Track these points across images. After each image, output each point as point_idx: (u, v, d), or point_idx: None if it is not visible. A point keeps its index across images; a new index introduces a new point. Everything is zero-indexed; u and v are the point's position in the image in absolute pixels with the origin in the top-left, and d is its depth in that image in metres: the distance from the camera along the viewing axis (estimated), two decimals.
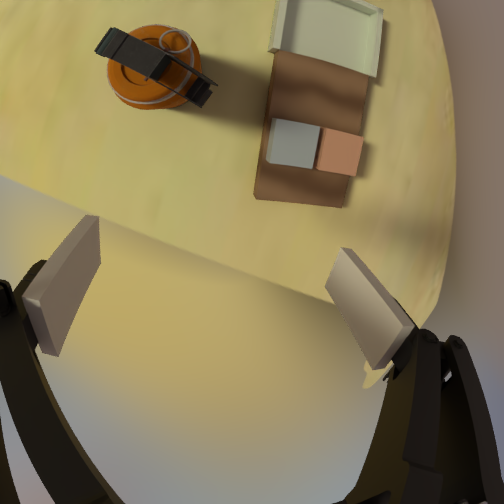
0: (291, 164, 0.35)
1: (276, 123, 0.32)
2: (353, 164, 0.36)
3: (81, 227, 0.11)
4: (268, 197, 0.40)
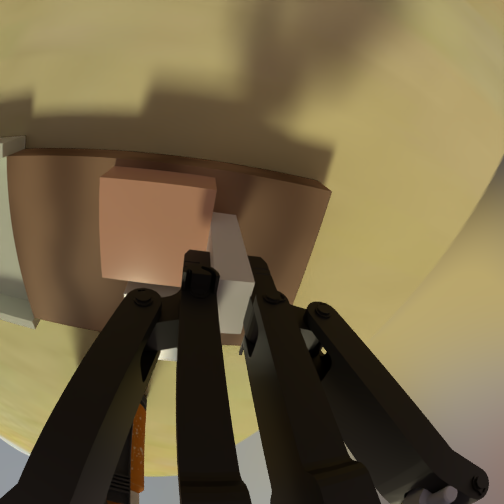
0: None
1: None
2: (180, 199, 0.13)
3: (217, 222, 0.14)
4: None
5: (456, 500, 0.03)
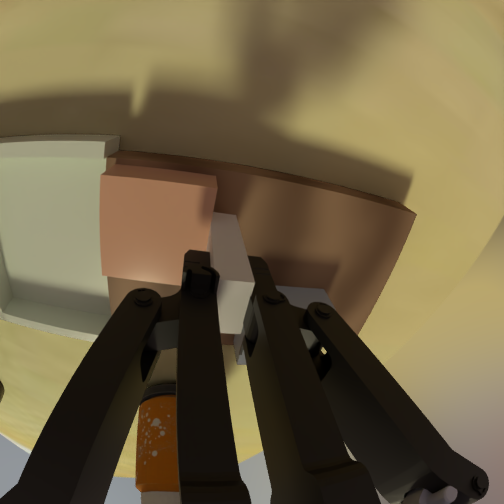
0: None
1: (245, 363, 0.20)
2: (180, 197, 0.13)
3: (217, 222, 0.14)
4: (356, 331, 0.24)
5: (456, 500, 0.03)
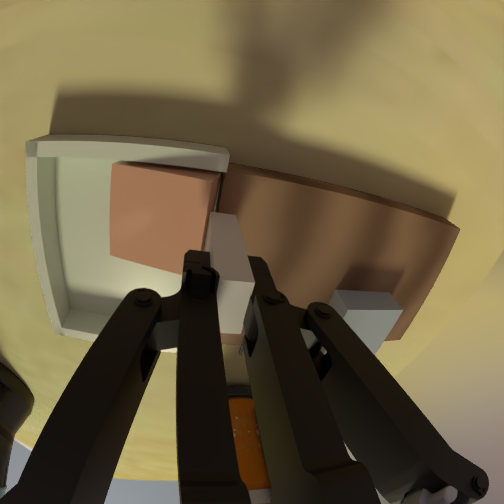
0: (385, 335, 0.22)
1: None
2: (178, 188, 0.14)
3: (217, 222, 0.14)
4: (405, 328, 0.26)
5: (456, 500, 0.03)
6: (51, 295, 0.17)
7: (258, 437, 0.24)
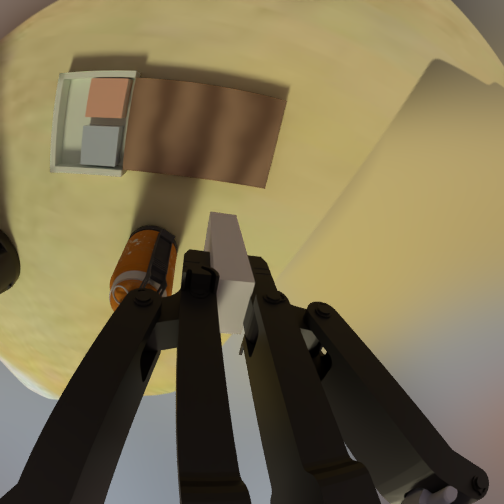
0: (115, 147, 0.34)
1: (84, 163, 0.35)
2: (116, 83, 0.30)
3: (217, 222, 0.14)
4: (264, 177, 0.41)
5: (456, 500, 0.03)
6: (55, 145, 0.32)
7: (154, 246, 0.39)
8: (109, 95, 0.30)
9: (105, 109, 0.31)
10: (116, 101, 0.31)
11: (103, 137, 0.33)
